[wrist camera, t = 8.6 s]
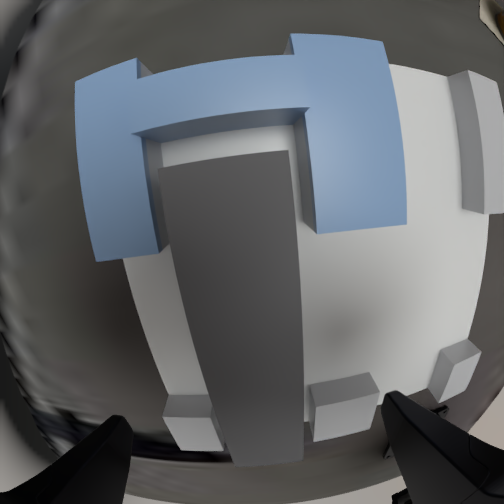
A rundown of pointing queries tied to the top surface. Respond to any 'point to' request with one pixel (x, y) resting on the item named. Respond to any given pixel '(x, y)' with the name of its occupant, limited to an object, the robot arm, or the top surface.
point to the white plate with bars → (311, 212)
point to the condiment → (493, 17)
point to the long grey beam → (242, 296)
